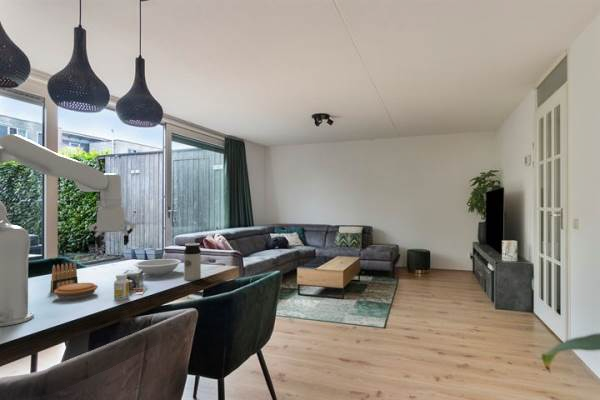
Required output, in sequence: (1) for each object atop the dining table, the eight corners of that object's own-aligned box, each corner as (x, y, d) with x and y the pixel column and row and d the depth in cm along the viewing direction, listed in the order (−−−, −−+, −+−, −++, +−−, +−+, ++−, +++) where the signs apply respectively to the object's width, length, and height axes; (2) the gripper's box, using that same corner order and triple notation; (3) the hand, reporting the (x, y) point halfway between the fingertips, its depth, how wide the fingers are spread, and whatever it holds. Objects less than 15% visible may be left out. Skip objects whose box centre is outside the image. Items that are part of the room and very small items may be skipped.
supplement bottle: (125, 295, 143) (125, 272, 143) (131, 298, 139) (131, 274, 140) (111, 298, 139) (111, 274, 139) (117, 301, 135) (117, 276, 135)
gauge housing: (142, 294, 145) (142, 278, 145) (114, 296, 142) (114, 279, 142) (150, 283, 165) (150, 269, 165) (127, 284, 162) (127, 270, 163)
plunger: (142, 291, 147) (142, 281, 148) (121, 292, 145) (121, 282, 145) (146, 285, 157) (146, 276, 157) (127, 287, 155) (127, 277, 155)
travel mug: (193, 276, 180) (193, 242, 180) (203, 278, 176) (203, 243, 176) (181, 279, 174) (181, 244, 174) (191, 281, 169) (191, 245, 169)
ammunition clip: (52, 292, 149) (52, 265, 149) (50, 292, 150) (50, 264, 150) (77, 287, 159) (78, 261, 159) (75, 286, 159) (75, 261, 160)
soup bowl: (155, 269, 202) (155, 258, 203) (190, 271, 195) (190, 259, 195) (123, 277, 180) (123, 264, 180) (161, 280, 172) (161, 267, 172)
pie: (60, 304, 131) (60, 291, 131) (49, 297, 141) (49, 285, 141) (103, 296, 143) (103, 284, 143) (90, 290, 153) (90, 279, 153)
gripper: (84, 204, 133) (85, 248, 134) (132, 203, 138) (134, 245, 138) (90, 204, 141) (91, 245, 141) (136, 203, 145) (137, 243, 146)
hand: (112, 245), depth 140 cm, fingers open, 9 cm apart
